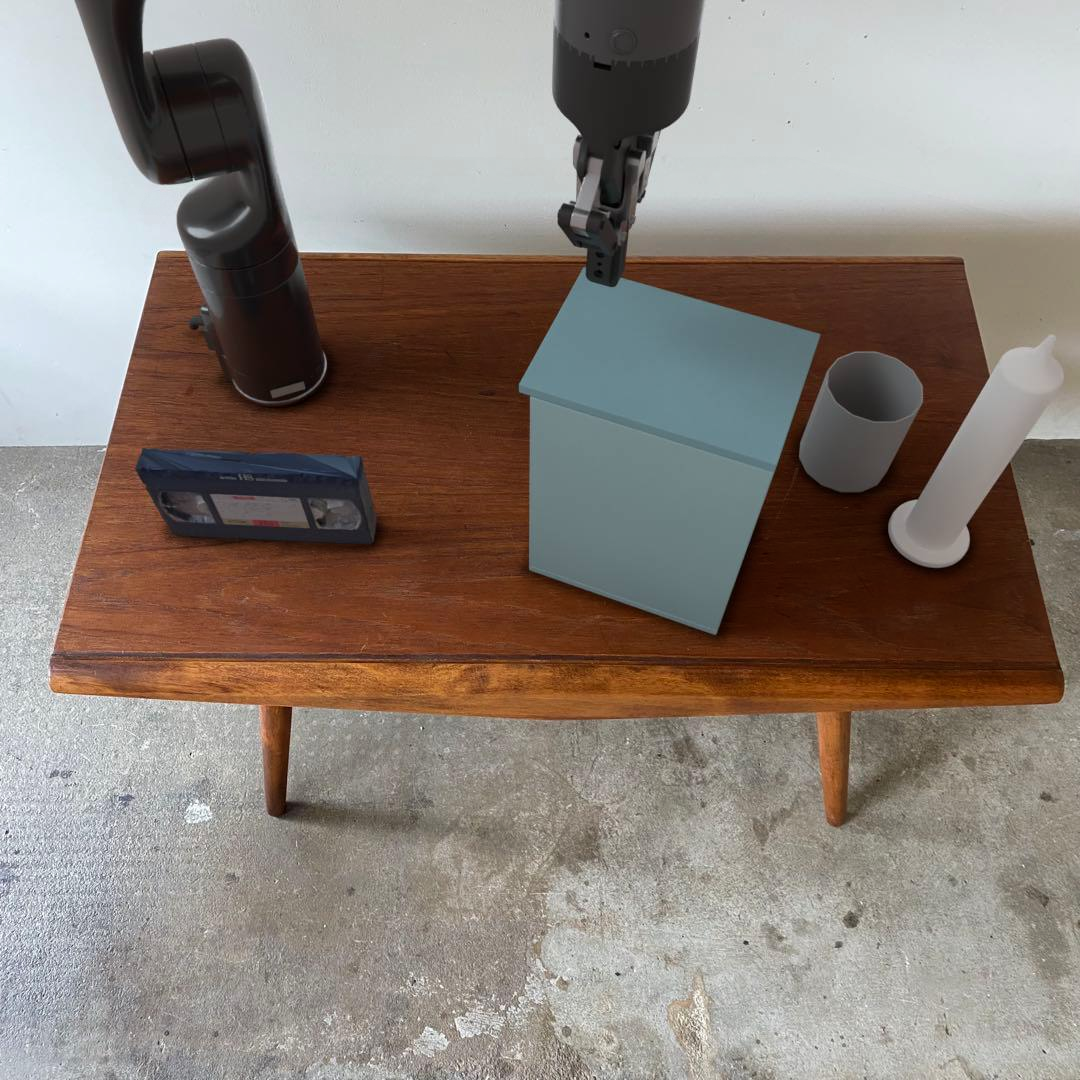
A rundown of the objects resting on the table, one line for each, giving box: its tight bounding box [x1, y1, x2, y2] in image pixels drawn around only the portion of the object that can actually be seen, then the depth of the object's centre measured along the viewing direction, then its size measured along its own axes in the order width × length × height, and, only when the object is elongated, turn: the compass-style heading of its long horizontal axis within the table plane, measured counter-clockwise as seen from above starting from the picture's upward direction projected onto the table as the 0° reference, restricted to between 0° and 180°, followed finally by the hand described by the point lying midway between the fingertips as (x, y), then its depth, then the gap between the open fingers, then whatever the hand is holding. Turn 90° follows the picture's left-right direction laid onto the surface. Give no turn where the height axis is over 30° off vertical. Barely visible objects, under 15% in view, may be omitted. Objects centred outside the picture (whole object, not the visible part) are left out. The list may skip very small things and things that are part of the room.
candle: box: [887, 333, 1065, 569], centre depth 77 cm, size 7×7×25 cm
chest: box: [528, 395, 775, 636], centre depth 77 cm, size 17×13×23 cm
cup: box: [798, 351, 924, 493], centre depth 88 cm, size 8×8×10 cm
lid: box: [518, 266, 821, 473], centre depth 67 cm, size 18×13×1 cm
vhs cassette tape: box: [134, 447, 378, 545], centre depth 82 cm, size 18×3×10 cm, turn 86°
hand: (604, 277), depth 63 cm, fingers closed
